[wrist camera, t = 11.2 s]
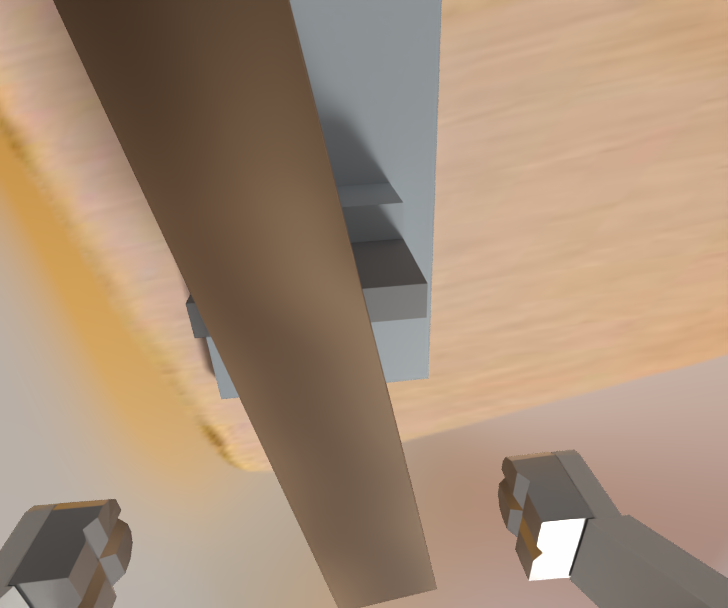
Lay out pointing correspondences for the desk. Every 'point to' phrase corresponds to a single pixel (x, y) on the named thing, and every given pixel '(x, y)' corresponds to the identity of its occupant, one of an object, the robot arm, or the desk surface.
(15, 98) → the desk surface
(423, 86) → the ridge stand
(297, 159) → the bar
